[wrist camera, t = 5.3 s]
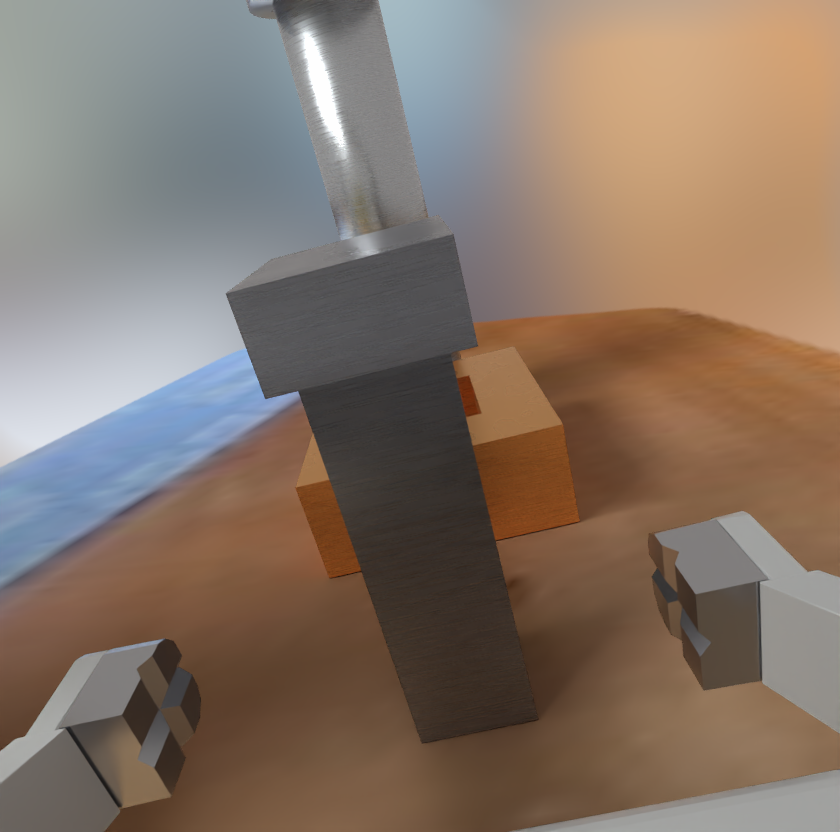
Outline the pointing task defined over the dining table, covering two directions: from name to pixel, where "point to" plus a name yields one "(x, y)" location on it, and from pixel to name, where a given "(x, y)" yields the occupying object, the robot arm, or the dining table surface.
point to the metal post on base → (392, 206)
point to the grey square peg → (398, 456)
